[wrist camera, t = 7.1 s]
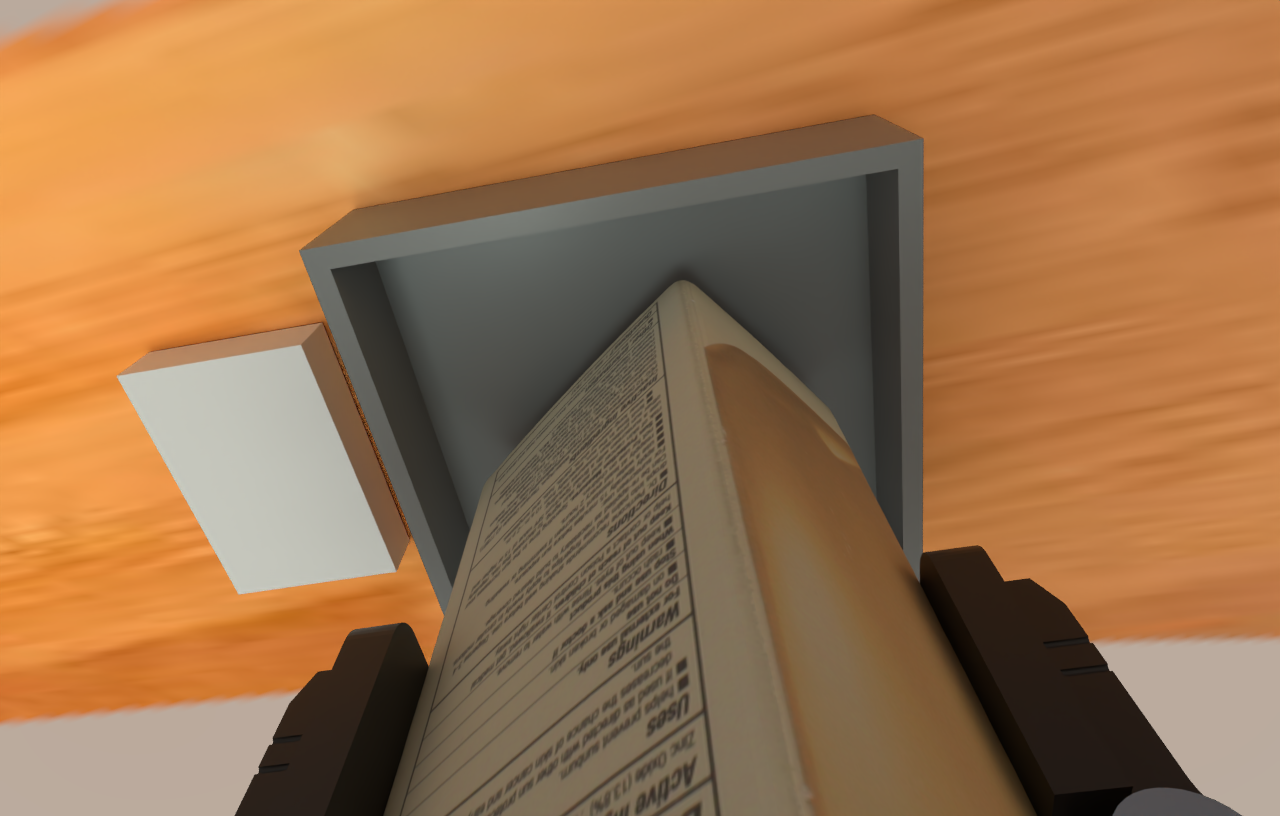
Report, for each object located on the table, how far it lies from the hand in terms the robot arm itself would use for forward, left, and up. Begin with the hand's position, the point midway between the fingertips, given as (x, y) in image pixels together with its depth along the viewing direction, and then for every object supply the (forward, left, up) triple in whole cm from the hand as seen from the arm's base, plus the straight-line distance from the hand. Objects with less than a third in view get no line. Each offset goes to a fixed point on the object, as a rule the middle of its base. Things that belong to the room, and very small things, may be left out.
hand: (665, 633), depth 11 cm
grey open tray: (+3, +1, -7) cm, 8 cm away
